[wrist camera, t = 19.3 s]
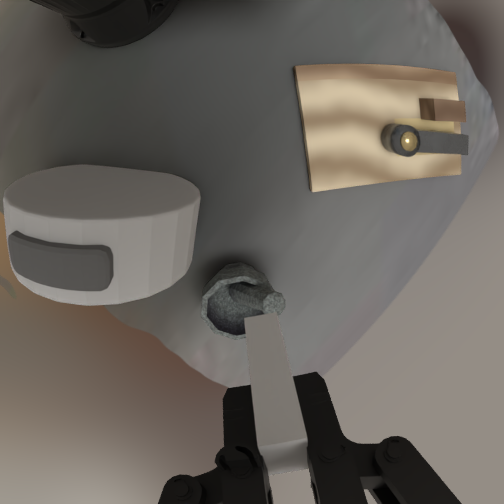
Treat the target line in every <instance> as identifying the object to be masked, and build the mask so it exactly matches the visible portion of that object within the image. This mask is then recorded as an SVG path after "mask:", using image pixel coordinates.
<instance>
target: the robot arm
mask: <svg viewBox="0 0 504 504" xmlns="http://www.w3.org/2000/svg"><path fill="white" fill-rule="evenodd" d="M30 1H32V2H35V3H37V4H40V5H42V6H44V7H47V8H49V9H51V10H54V11H56V12H58V13H60V14H62V15H63V17H64V19H65V21H66V23H67V25H68V27H69V29H70V31H71V32H72V33H73V34H74V35H75V36H76V37H77V38H79V39H80V40H82V41H84V42H86V43H89V44H91V45H94V46H98V47H118V46H123V45H126V44H129V43H132V42H135V41H137V40H139V39H141V38H143V37H145V36H146V35H148V34H150V33H151V32H152V31H154V30H155V29H156V28H158V27H159V26H160V25H161V24H162V23H163V22H164V21H165V20H166V19H167V18H168V17H169V15H170V14H171V13H172V11H173V10H174V8H175V6H176V4H177V2H178V0H30ZM244 322H245V332H246V342H247V352H248V362H249V371H250V381H251V385H247V386H240V387H233V388H228V389H227V391H226V393H225V395H224V398H223V419H224V421H223V424H224V425H223V426H224V447H223V448H222V449H220V451H219V452H218V453H217V455H216V458H215V463H216V464H217V467H216V468H215V469H214V470H212V471H209V472H207V473H204V474H201V475H199V476H195V477H192V476H189V475H177V476H174V477H172V478H171V479H169V480H168V481H167V483H166V484H165V486H164V488H163V491H162V494H161V497H160V499H159V502H158V504H273V497H272V490H271V487H270V483H269V476H268V475H275V474H280V473H287V472H293V471H298V470H303V469H308V468H309V472H310V476H311V488H312V490H313V494H314V499H315V504H368V503H367V500H366V496H365V493H364V490H363V489H368V490H369V492H370V493H371V495H372V496H373V498H374V499H375V501H376V502H377V504H461V502H460V501H459V500H458V499H457V498H456V496H455V495H454V494H453V493H452V492H451V491H450V489H449V488H448V487H447V486H446V484H445V483H444V482H443V481H442V480H441V478H440V477H439V476H438V475H437V474H436V472H435V471H434V470H433V469H432V467H431V466H430V465H429V464H428V463H427V461H426V460H425V459H424V458H423V457H422V455H421V454H420V453H419V452H418V451H417V450H416V448H415V447H414V446H413V445H412V444H411V442H410V441H408V440H407V439H406V438H403V437H400V436H391V437H389V438H386V439H384V440H383V441H382V442H381V443H379V444H358V443H355V442H352V441H350V440H348V439H347V438H346V437H345V436H344V435H343V433H342V431H341V428H340V425H339V422H338V419H337V416H336V413H335V410H334V407H333V404H332V401H331V398H330V395H329V393H328V389H327V386H326V383H325V380H324V379H323V378H322V377H321V376H320V375H319V374H318V373H317V372H312V373H308V374H303V375H298V376H292V372H291V368H290V364H289V360H288V355H287V351H286V347H285V343H284V339H283V335H282V331H281V327H280V323H279V319H278V315H277V312H274V313H269V314H264V315H258V316H253V317H247V318H244Z"/></svg>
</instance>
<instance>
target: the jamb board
mask: <svg viewBox="0 0 504 504" xmlns="http://www.w3.org/2000/svg"><path fill="white" fill-rule="evenodd" d="M293 71H294V76H295V82H296V88H297V94H298V101H299V107H300V114H301V121H302V128H303V135H304V142H305V150H306V158H307V166H308V175H309V184H310V190H311V191H312V192H317V191H324V190H331V189H338V188H345V187H352V186H359V185H367V184H375V183H383V182H391V181H399V180H408V179H417V178H427V177H437V176H448V175H459V174H461V155H459V154H443V153H418V152H417V153H416V154H415V155H413V156H411V157H405V156H401V155H398V154H395V153H392V152H389V151H387V150H386V149H385V148H384V146H383V144H382V141H381V134H382V131H383V129H384V127H385V126H386V125H388V124H390V123H396V124H404V125H410V126H412V127H414V128H415V129H423V130H435V131H445V132H454V133H459V134H461V130H460V122H466V112H465V101H458V91H457V81H456V74H455V72H449V71H442V70H435V69H427V68H418V67H408V66H396V65H378V64H318V65H300V66H294V67H293Z"/></svg>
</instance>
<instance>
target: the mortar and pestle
mask: <svg viewBox="0 0 504 504" xmlns="http://www.w3.org/2000/svg"><path fill="white" fill-rule="evenodd" d="M284 308H285V298H284V297H283V295H282V294H281V293H278V292H275V291H274V289H273V288H272V286H271V285H270V283H269V281H268V280H267V278H266V277H265V275H264V274H263V273H261V272H258V271H255V270H254V268H253V267H252V266H249V265H246V264H244V263H241V262H238V263H233V264H228V265H226V266H225V267H224V268H223V269H222V270H220V271H219V272H218V273H217V274H216V275H215V276H214V277H213V278H212V279H211V280H210V281H209V282H208V283H207V284H206V285H205V287H204V290H203V294H202V311H201V318H202V319H203V320H204V321H205V323H206V324H207V325H208V326H209V327H210V329H211V330H212V331H213V332H214V333H215V334H219V335H222V336H225V337H228V338H232V339H235V340H238V339H243V338H246V332H245V322H244V318H247V317H253V316H258V315H264V314H269V313H274V312H277V315H280V314H281V313H282V312H283V310H284Z"/></svg>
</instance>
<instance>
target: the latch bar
mask: <svg viewBox="0 0 504 504" xmlns="http://www.w3.org/2000/svg"><path fill="white" fill-rule="evenodd" d="M381 141H382V144H383V146H384V148H385V149H386V150H387V151H389V152H392V153H395V154H398V155H401V156H405V157H411V156H413V155H415V154H416V153H417V152H418V153H443V154H459V155H468V135H463V134H459V133H454V132H445V131H435V130H423V129H415V128H414V127H412V126H410V125H404V124H396V123H390V124H388V125H386V126H385V127H384V129H383V131H382V134H381Z"/></svg>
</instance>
